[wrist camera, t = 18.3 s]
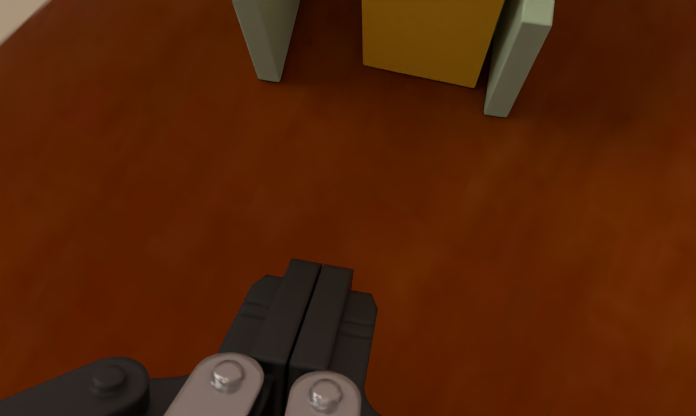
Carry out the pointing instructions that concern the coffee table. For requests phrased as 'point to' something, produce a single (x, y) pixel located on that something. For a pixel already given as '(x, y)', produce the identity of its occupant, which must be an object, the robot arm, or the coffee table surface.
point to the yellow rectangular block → (429, 37)
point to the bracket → (506, 60)
